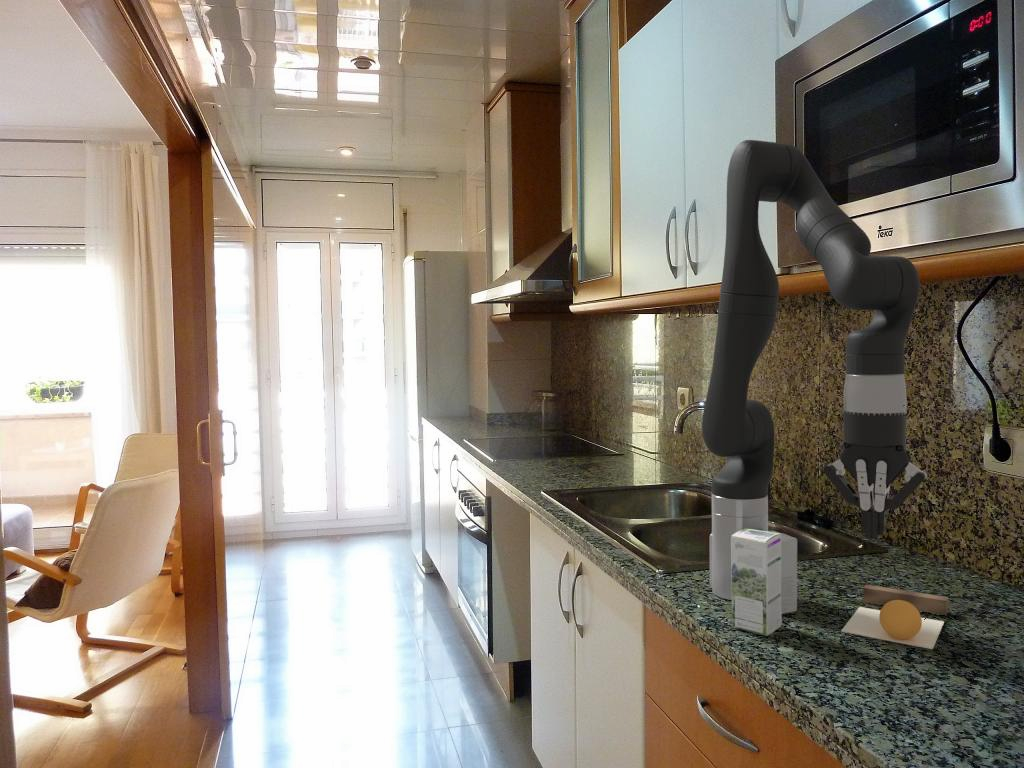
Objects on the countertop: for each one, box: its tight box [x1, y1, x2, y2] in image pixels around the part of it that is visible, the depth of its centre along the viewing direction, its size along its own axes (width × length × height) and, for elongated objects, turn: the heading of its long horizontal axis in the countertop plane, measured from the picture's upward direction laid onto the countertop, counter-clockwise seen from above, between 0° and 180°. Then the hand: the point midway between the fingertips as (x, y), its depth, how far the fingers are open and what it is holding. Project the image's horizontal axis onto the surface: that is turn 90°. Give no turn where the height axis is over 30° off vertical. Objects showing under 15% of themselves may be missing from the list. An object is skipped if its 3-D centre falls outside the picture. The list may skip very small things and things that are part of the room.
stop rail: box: [862, 584, 949, 617], centre depth 124 cm, size 12×2×2 cm, turn 54°
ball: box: [879, 600, 922, 639], centre depth 112 cm, size 6×6×6 cm
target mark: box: [841, 606, 945, 650], centre depth 116 cm, size 12×12×1 cm
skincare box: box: [766, 530, 798, 615], centre depth 125 cm, size 6×4×12 cm
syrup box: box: [731, 529, 783, 637], centre depth 117 cm, size 6×6×14 cm
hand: (873, 537), depth 103 cm, fingers closed
